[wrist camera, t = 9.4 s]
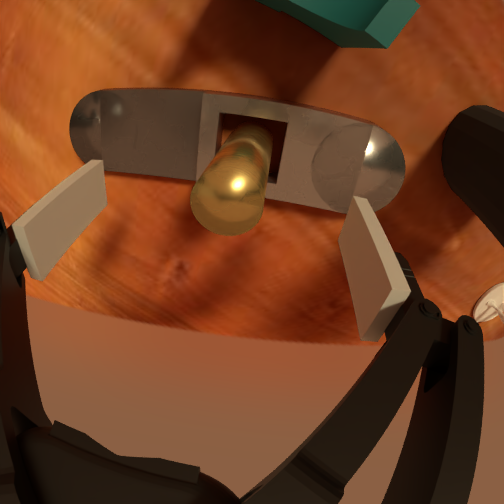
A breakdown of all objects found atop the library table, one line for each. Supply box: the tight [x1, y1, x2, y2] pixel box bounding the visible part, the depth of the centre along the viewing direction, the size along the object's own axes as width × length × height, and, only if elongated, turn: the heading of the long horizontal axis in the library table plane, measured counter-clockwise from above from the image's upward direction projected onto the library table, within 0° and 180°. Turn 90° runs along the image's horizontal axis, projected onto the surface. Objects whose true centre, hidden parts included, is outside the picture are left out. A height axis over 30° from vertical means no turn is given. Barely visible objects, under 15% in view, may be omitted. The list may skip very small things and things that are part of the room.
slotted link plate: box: [70, 88, 405, 214], centre depth 23 cm, size 31×8×2 cm, turn 82°
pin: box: [190, 121, 273, 236], centre depth 19 cm, size 4×4×12 cm
